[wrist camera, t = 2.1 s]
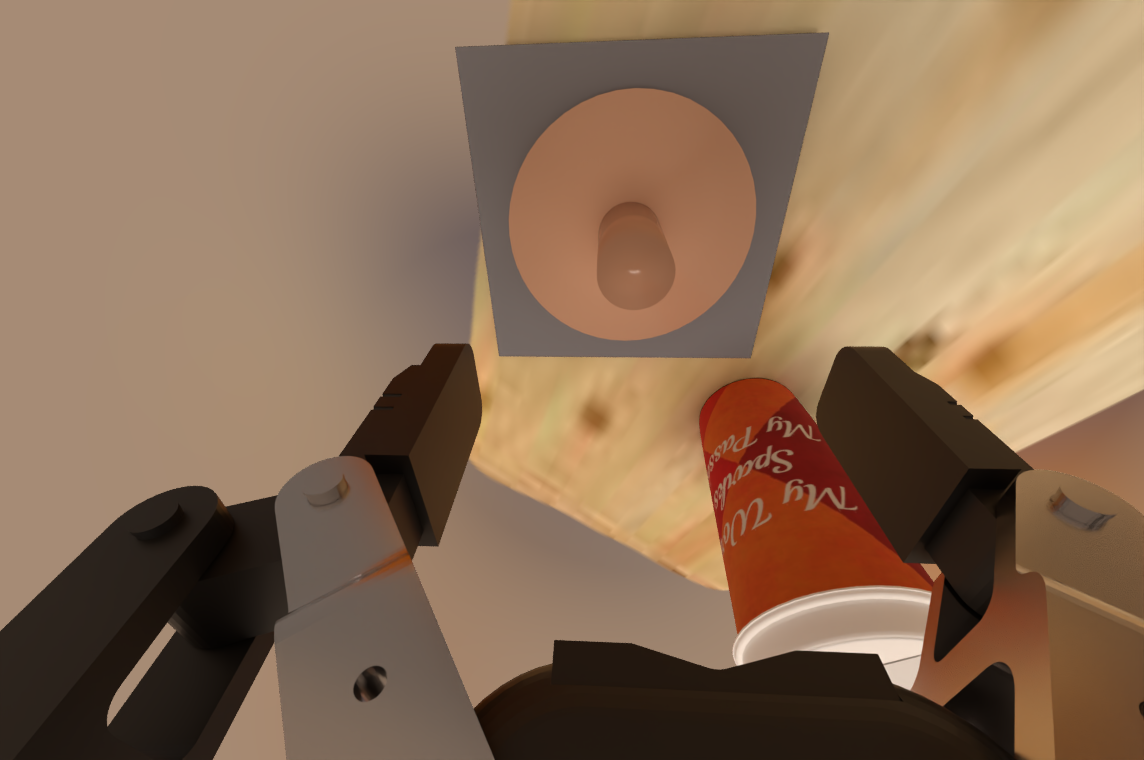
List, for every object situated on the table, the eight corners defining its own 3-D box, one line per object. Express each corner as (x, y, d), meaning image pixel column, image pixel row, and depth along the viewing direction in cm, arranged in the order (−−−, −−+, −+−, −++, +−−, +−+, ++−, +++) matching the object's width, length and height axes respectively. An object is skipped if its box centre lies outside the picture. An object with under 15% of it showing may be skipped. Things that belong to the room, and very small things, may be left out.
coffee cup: (759, 335, 24) (923, 600, 12) (844, 412, 27) (1052, 695, 14) (652, 422, 28) (690, 688, 16) (735, 481, 31) (825, 750, 18)
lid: (777, 82, 17) (845, 82, 12) (728, 333, 23) (760, 399, 18) (498, 92, 18) (457, 96, 13) (523, 333, 24) (502, 395, 19)
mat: (818, 34, 17) (829, 32, 16) (745, 348, 25) (750, 357, 24) (462, 48, 18) (455, 47, 17) (502, 347, 25) (499, 356, 25)
